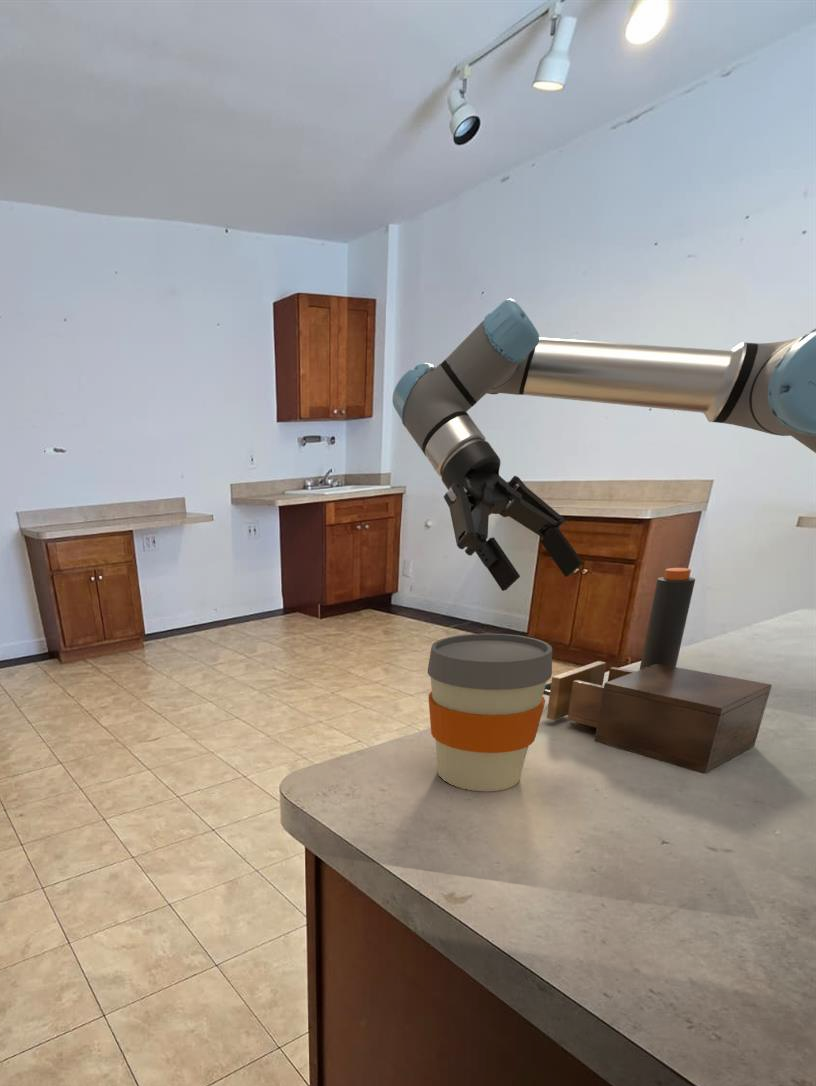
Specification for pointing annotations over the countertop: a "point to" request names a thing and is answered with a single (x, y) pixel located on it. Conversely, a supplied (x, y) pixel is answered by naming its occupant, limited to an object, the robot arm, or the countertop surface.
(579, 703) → the drawer
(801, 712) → the countertop surface
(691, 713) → the cabinet
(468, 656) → the reusable coffee cup
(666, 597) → the spray can
